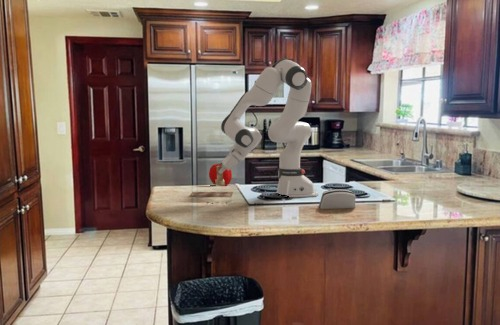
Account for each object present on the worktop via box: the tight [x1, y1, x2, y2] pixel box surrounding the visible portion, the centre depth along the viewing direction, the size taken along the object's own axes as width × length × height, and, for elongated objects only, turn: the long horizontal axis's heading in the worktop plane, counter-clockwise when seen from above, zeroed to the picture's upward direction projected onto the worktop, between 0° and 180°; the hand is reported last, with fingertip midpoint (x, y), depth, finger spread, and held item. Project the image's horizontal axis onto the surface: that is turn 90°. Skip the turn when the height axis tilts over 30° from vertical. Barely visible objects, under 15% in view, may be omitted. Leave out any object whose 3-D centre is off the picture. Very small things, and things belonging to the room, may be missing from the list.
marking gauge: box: [215, 166, 226, 187], centre depth 224 cm, size 4×6×10 cm
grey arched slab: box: [318, 189, 356, 210], centre depth 199 cm, size 17×5×10 cm, turn 94°
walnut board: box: [188, 191, 234, 198], centre depth 224 cm, size 22×13×2 cm, turn 88°
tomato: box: [208, 162, 233, 186], centre depth 256 cm, size 16×14×14 cm
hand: (218, 172), depth 223 cm, fingers closed on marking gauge, 3 cm apart
